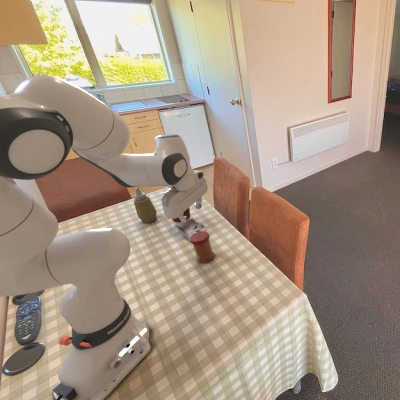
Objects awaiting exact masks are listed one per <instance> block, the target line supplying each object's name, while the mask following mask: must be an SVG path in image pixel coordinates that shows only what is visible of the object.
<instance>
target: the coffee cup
mask: <svg viewBox="0 0 400 400" xmlns="http://www.w3.org/2000/svg"><path fill="white" fill-rule="evenodd" d="M183 213H184V215H183V216H184V217H185V216H187V219H188V221H189V220H190V219H191V210H190V207H189V208H188V209H187V210H185V211H184V212H183ZM171 220H172V221H173V222H174V224H175V225H176V226H177V227H178V228H179V227H180V226H181V225H182V224H184V223H182V222H181V220H180V218H178V217H177V218H176V219H172V218H171Z"/></svg>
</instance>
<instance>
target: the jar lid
mask: <svg viewBox="0 0 400 400" xmlns="http://www.w3.org/2000/svg"><path fill="white" fill-rule="evenodd" d="M208 240H209V241H210V235H209V232H207V230H206V231H199V232H196V233H194V234H192V235H191V237H190V240H189V241H190V243H191V244H192V246H193V245H202V244H204V243H206V242H207V241H208Z"/></svg>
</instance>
